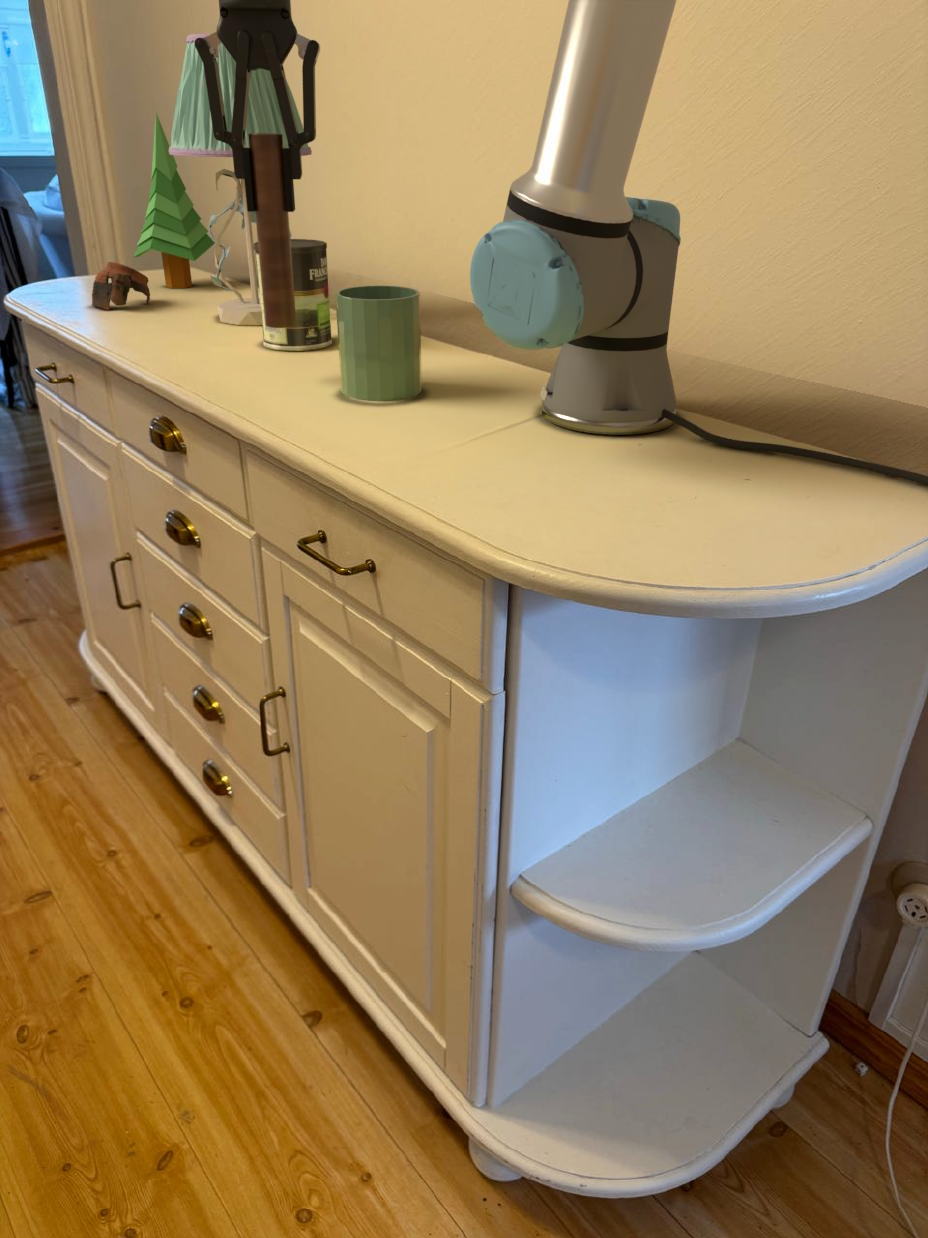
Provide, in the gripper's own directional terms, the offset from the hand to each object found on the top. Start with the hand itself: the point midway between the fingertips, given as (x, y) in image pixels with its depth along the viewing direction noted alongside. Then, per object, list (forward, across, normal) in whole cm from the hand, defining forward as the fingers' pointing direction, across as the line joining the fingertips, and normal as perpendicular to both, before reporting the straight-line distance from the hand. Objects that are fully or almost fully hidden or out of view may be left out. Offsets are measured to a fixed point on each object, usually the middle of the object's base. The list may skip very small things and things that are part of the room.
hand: (271, 209), depth 108 cm
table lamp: (+21, +9, -43) cm, 49 cm away
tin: (+20, -12, +5) cm, 24 cm away
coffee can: (+21, 0, -23) cm, 31 cm away
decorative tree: (+21, +28, -75) cm, 82 cm away
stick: (+13, 0, 0) cm, 13 cm away
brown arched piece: (+21, +34, -54) cm, 67 cm away
